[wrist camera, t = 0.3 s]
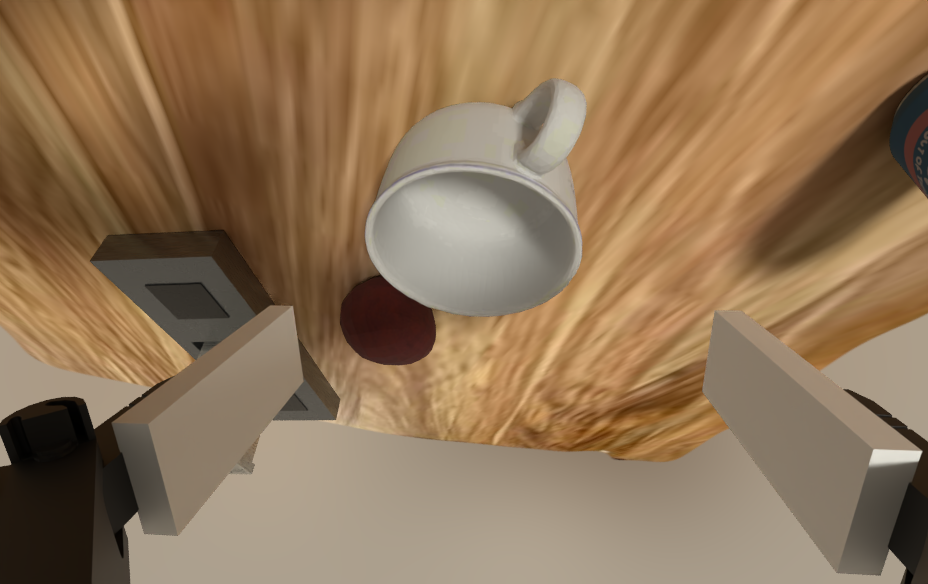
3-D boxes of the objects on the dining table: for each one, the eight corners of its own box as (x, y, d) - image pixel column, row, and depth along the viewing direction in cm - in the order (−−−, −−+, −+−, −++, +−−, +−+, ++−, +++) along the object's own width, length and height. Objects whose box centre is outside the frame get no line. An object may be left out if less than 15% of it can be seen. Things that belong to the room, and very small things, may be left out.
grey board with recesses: (107, 235, 35) (89, 262, 34) (223, 230, 34) (210, 257, 33) (266, 400, 57) (260, 421, 56) (340, 399, 56) (335, 420, 55)
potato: (366, 323, 44) (354, 384, 40) (329, 264, 37) (312, 330, 33) (445, 318, 42) (441, 379, 39) (422, 255, 36) (414, 322, 32)
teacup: (488, 246, 35) (487, 340, 30) (353, 169, 30) (325, 268, 25) (653, 109, 26) (691, 212, 21) (501, -34, 21) (503, 58, 16)
